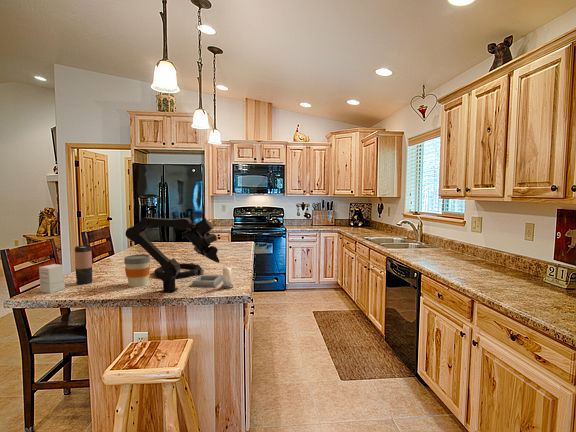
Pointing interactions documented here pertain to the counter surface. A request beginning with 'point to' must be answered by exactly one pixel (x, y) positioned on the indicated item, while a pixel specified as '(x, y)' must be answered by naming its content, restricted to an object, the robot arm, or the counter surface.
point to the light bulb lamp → (227, 278)
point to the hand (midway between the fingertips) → (215, 260)
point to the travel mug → (83, 264)
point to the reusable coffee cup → (137, 269)
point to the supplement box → (51, 278)
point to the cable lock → (196, 271)
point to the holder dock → (207, 281)
